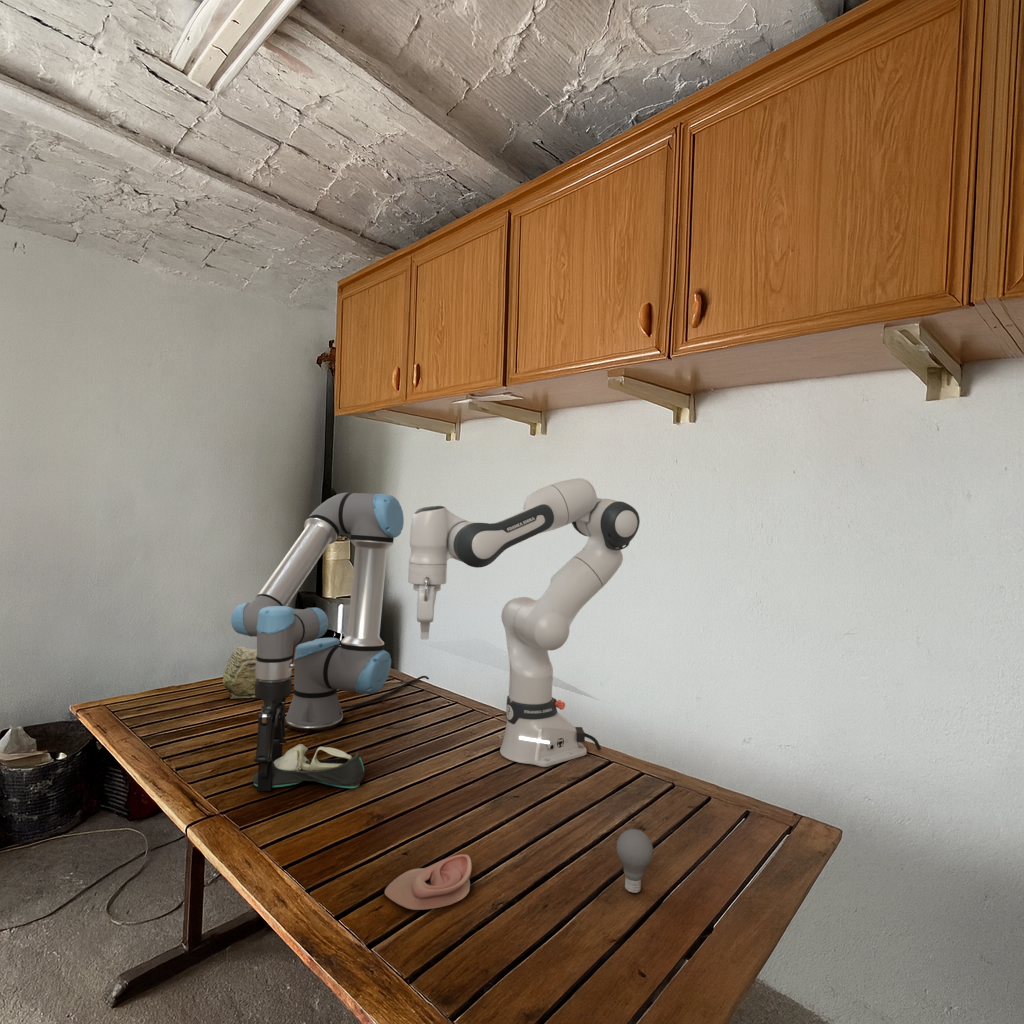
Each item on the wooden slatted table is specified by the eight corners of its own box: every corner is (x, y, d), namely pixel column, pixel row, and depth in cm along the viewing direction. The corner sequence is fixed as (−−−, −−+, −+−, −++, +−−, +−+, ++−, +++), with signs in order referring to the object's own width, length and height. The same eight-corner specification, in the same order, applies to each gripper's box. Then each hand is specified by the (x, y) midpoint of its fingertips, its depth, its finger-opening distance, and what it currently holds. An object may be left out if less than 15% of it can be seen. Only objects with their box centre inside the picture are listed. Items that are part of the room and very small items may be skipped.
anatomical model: (377, 878, 99) (404, 840, 110) (376, 903, 99) (403, 863, 111) (458, 893, 97) (478, 852, 108) (457, 918, 97) (476, 875, 108)
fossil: (218, 695, 195) (220, 647, 195) (278, 685, 208) (279, 640, 207) (228, 703, 189) (230, 653, 188) (289, 692, 201) (290, 645, 201)
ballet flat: (258, 774, 143) (259, 738, 143) (367, 774, 145) (368, 739, 145) (247, 791, 135) (248, 753, 134) (362, 791, 137) (364, 753, 137)
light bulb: (610, 879, 108) (613, 822, 108) (644, 879, 109) (647, 822, 109) (619, 902, 102) (622, 840, 102) (655, 901, 103) (658, 840, 103)
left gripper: (279, 692, 129) (275, 803, 129) (301, 666, 149) (298, 762, 149) (241, 692, 128) (237, 804, 128) (268, 665, 148) (265, 762, 149)
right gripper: (441, 581, 138) (438, 644, 138) (441, 570, 158) (438, 625, 158) (411, 580, 137) (409, 644, 137) (415, 569, 157) (413, 625, 158)
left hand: (269, 781), depth 139 cm, fingers closed on ballet flat, 8 cm apart
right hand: (425, 634), depth 148 cm, fingers open, 8 cm apart
